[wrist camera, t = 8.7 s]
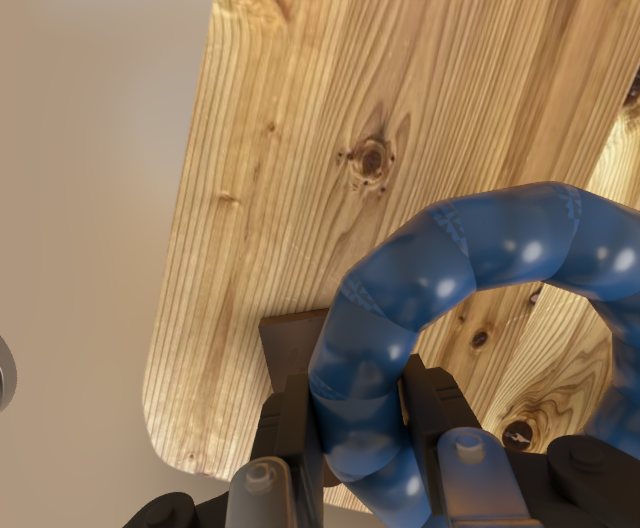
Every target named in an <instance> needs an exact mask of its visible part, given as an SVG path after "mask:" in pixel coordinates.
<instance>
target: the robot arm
mask: <svg viewBox="0 0 640 528" xmlns="http://www.w3.org/2000/svg"><path fill="white" fill-rule="evenodd" d="M398 388H399V395H400V401H401V407H402V412H403V417H404V421H405V425H406V427H407V429H408V433H409V436H410V440H411V445H412V448H413V452H414V455H415V458H416V462H417V465H418V469H419V472H420V475H421V479H422V482H423V485H424V489H425V492H426V495H427V499H428V502H429V506H430V509H431V512H432V516H433V517H438V516H444V518H445V521H446V524H447V527H448V528H640V460H639V459H637V458H635V457H633V456H631V455H629V454H627V453H625V452H623V451H622V450H620V449H618V448H616V447H614V446H612V445H610V444H608V443H606V442H604V441H602V440H599V439H596V438H593V437H589V436H583V435H566V436H561V437H558V438H556V439H554V440H553V441H552V442H550V444H549V445H548V447H547V454H538V453H528V452H520V451H515V450H511V449H508V448H505V447H503V445H502V444H501V442H500V441H499V439H498V438H497V437H495V436H494V435H493V434H491V433H490V432H488V431H485V430H483V429H482V427H481V425H480V423H479V422H478V420H477V418H476V416H475V415H474V413H473V411H472V409H471V408H470V406H469V404H468V402H467V401H466V399H465V397H464V396H463V394H462V392H461V390H460V388H458V385H457V383H456V381H455V380H454V378H453V376H452V375H451V374H450V373H448V372H447V371H445V370H443V369H442V368H440V367H436V368H429V369H425V366H424V364H423V362H422V360H421V358H420V356H419V354H418V353H417V354H411V355H410V357H409V359H408V362H407V364H406V366H405V368H404V370H403V373H402V375H401V377H400V379H399V381H398ZM123 528H323V447H322V442H321V437H320V433H319V428H318V424H317V419H316V415H315V410H314V405H313V401H312V396H311V392H310V387H309V381H308V371H305V372H299V373H293V374H288V375H287V377H286V383H285V389H284V392H279V393H272V394H271V396H270V397H269V398H268V399H267V400H266V402H265V403H264V404H263V407H262V411H261V415H260V419H259V423H258V429H257V432H256V436H255V440H254V444H253V448H252V452H251V456H250V461H249V462H248V463H247V464H245V465H244V466H242V467H241V468H240V469H239V470H238V471H237V472H236V473H235V475H234V476H233V478H232V480H231V483H230V488H229V491H227V492H226V493H224V494H222V495H220V496H218V497H216V498H213V499H211V500H209V501H206V502H204V503H201V504H199V505H196V506H195V505H194V502H193V499H192V498H191V496H189V495H188V494H186V493H182V492H173V493H168V494H165V495H162V496H159V497H158V498H156V499H154V500H152V501H151V502H149V503H148V504H146V505H145V506H144V507H143V508H142V509H141V510H140V511H138V512H137V513H136V514H135V515H134V516H133V518H132V519H131V520H130V521H129V522H128V523H127V524H126V525H125V526H124V527H123Z"/></svg>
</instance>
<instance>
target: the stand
mask: <svg viewBox="0 0 640 528" xmlns="http://www.w3.org/2000/svg"><path fill="white" fill-rule="evenodd" d="M329 310H330V308H327V309H321V310H314V311H308V312H302V313H295V314H289V315H282V316H276V317H270V318H263V319H261V321H260V324H259V326H258V328H259V332H260V337H261V341H262V345H263V349H264V353H265V358H266V362H267V366H268V370H269V375H270V379H271V383H272V387H273V391H274V393H279V392H284V389H285V383H286V377H287V375H288V374H293V373H299V372H305V371H308V368H309V363H310V360H311V357H312V354H313V351H314V349H315V346H316V344H317V341H318V338H319V336H320V333H321V330H322V328H323V325H324V323H325V320H326V317H327V315H328V312H329ZM341 483H342V482H341V481H340V480H339V479H338V478H337V477H336V476H335V475H334V473H333V472H332V471H331V469H330V468H329V466H328V463H327V461H326V459H325V455H324V451H323V487H334V486H337V485H339V484H341Z"/></svg>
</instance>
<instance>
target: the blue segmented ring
mask: <svg viewBox="0 0 640 528" xmlns="http://www.w3.org/2000/svg"><path fill="white" fill-rule="evenodd" d="M536 281H541V282H544V283H546V284H549V285H552V286H555V287H558V288H560V289H563V290H566V291H569V292H572V293H575V294H577V295H580V296H583V297H586V298H587V299H588V301H589V302H590V303H591V305H592V306H593V307H594V309H595V310H596V311H597V313H598V314H599V316H600V317H601V318H602V320H603V321H604V322H605V324H606V325H607V326H608V328H609V329H610V331H611V332H612V381H611V383H610V384H609V386H608V388H607V389H606V391H605V393H604V394H603V396H602V398H601V399H600V401H599V403H598V404H597V406H596V407H595V409H594V411H593V412H592V414H591V416H590V417H589V419H588V421H587V422H586V424H585V425H584V427H583V428H582V429H581V430H579V431H577V432H576V433H574V434H573V435H583V436H589V437H593V438H596V439H599V440H602V441H604V442H606V443H608V444H610V445H612V446H614V447H616V448H618V449H620V450H622V451H623V452H625V453H627V454H629V455H631V456H633V457H635V458H637V459H639V460H640V211H638V210H636V209H633V208H630V207H628V206H625V205H622V204H620V203H617V202H614V201H612V200H609V199H606V198H604V197H601V196H598V195H596V194H593V193H591V192H588V191H585V190H583V189H580V188H577V187H575V186H572V185H569V184H565V183H562V182H554V181H544V182H536V183H530V184H525V185H520V186H514V187H509V188H503V189H498V190H492V191H487V192H482V193H476V194H471V195H465V196H460V197H454V198H449V199H444V200H440V201H437V202H435V203H433V204H430V205H429V206H427V207H426V208H424V209H423V210H421V211H420V212H419V213H417V214H416V215H415V216H414V217H413V218H411V219H410V220H409V221H408V222H406V223H405V224H404V225H403V226H401V227H400V228H399V229H398V230H396V231H395V232H394V233H393V234H392V235H390V236H389V237H388V238H387V239H385V240H384V241H383V242H382V243H380V244H379V245H378V246H377V247H375V248H374V249H373V250H372V251H370V252H369V253H368V254H367V255H366V256H364V257H363V258H362V259H361V260H359V261H358V262H357V263H356V264H354V265H353V266H352V267H351V268H350V269H349V270H348V271H347V272H346V273H345V275H344V276H343V278H342V279H341V282H340V284H339V286H338V289H337V291H336V294H335V297H334V299H333V302H332V304H331V307H330V310H329V312H328V315H327V317H326V320H325V323H324V325H323V328H322V330H321V333H320V336H319V338H318V341H317V344H316V346H315V349H314V351H313V354H312V357H311V360H310V363H309V368H308V381H309V387H310V392H311V396H312V401H313V405H314V410H315V415H316V419H317V424H318V428H319V433H320V437H321V442H322V447H323V451H324V455H325V459H326V461H327V463H328V466H329V468H330V469H331V471H332V472H333V473H334V475H335V476H336V477H337V478H338V479H339V480H340V481H341V482H342V483H343V484H344V485H345V486H346V487H347V488H348V489H349V490H350V491H351V492H352V493H353V494H354V495H355V496H356V497H357V498H358V499H359V500H360V501H361V502H362V503H363V504H364V505H365V506H366V507H367V508H368V509H369V510H370V511H371V512H372V513H373V514H374V515H375V516H376V517H377V518H379V519H380V521H381V522H383V523H384V524H385V525H386V526H387V527H388V528H448V527H447V524H446V521H445V518H444V516H438V517H433V516H432V512H431V509H430V506H429V502H428V499H427V495H426V492H425V489H424V485H423V482H422V479H421V475H420V472H419V469H418V465H417V462H416V458H415V455H414V452H413V448H412V445H411V440H410V436H409V433H408V429H407V427H406V426H405V425H404V420H403V414H402V407H401V401H400V395H399V388H398V381H399V379H400V377H401V375H402V373H403V370H404V368H405V366H406V364H407V362H408V359H409V357H410V355H411V353H412V351H413V348H414V346H415V344H416V342H417V339H418V337H419V335H420V333H421V332H422V331H423V330H425V329H426V328H427V327H429V326H430V325H431V324H433V323H434V322H435V321H437V320H438V319H439V318H441V317H442V316H443V315H445V314H446V313H447V312H449V311H450V310H451V309H453V308H454V307H455V306H457V305H458V304H460V303H461V302H462V301H464V300H465V299H466V298H468V297H469V296H470V295H472V294H473V293H474V292H478V291H483V290H489V289H495V288H501V287H507V286H513V285H519V284H524V283H530V282H536ZM543 454H547V451H546V452H544V453H543Z"/></svg>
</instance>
